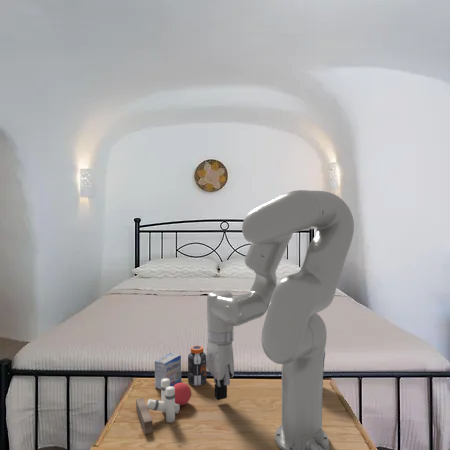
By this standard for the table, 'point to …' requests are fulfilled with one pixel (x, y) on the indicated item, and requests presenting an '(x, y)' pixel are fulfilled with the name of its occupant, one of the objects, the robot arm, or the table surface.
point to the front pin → (160, 406)
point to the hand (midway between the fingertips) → (220, 397)
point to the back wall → (144, 416)
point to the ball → (182, 393)
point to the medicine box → (168, 369)
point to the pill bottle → (197, 366)
